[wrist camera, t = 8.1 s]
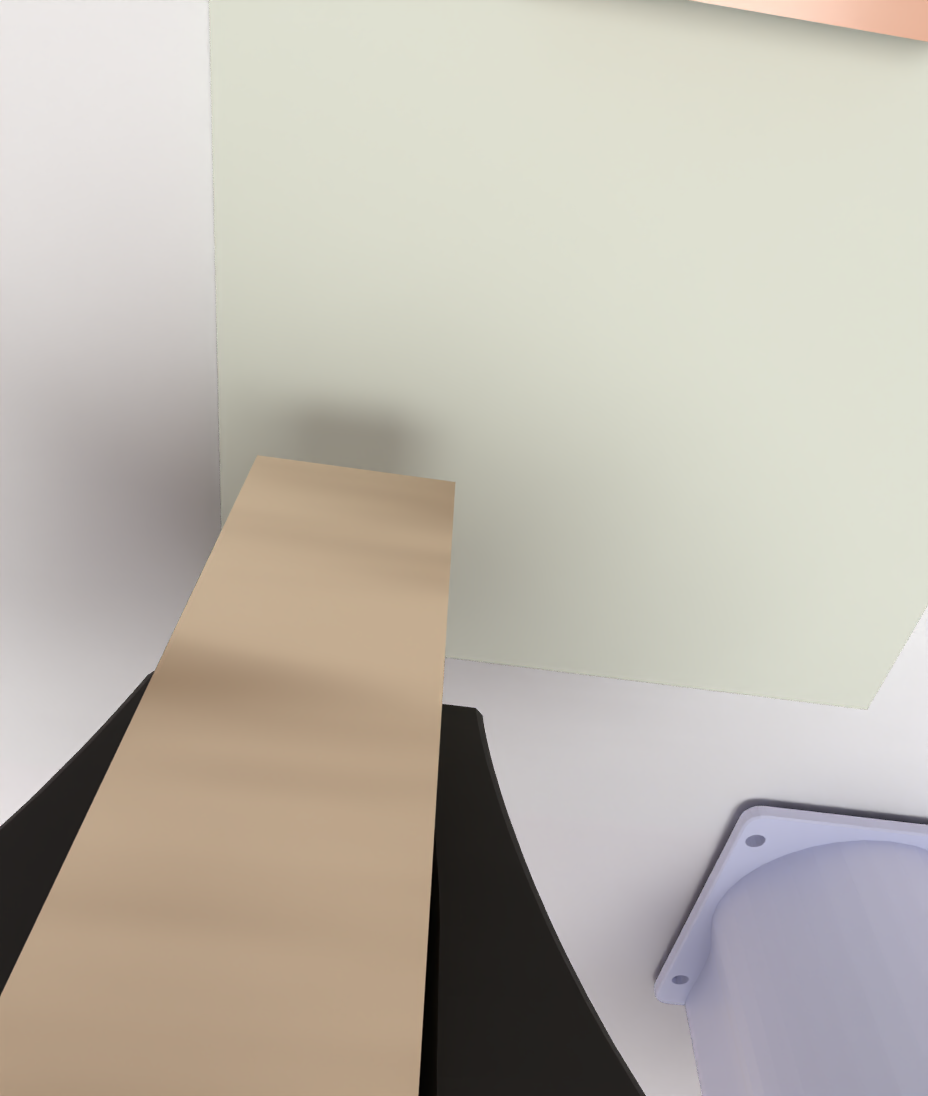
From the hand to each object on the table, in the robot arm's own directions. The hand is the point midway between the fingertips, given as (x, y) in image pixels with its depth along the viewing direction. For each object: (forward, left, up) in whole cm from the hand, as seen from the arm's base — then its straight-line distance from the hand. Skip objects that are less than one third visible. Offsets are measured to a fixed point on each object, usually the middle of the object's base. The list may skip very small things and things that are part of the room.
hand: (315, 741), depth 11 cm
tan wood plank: (0, 0, -3) cm, 3 cm away
